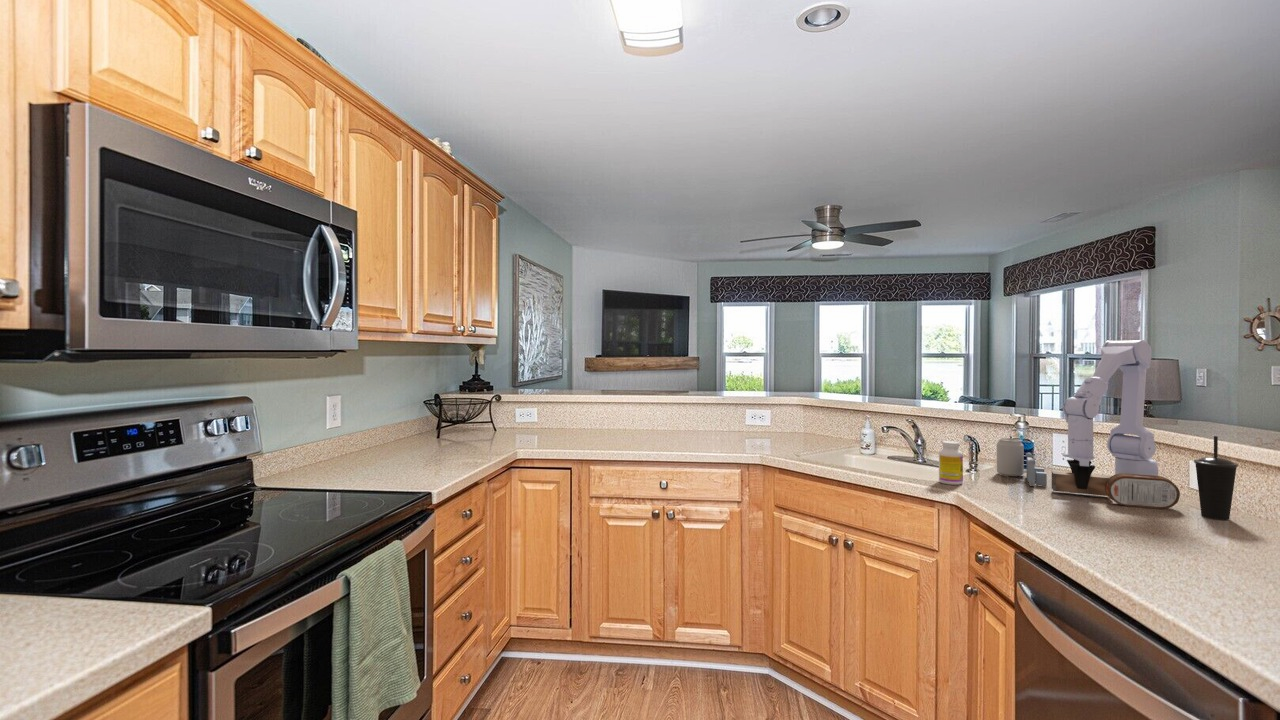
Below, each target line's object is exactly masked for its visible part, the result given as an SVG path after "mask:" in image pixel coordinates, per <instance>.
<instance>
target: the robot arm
mask: <svg viewBox="0 0 1280 720" xmlns="http://www.w3.org/2000/svg"><path fill="white" fill-rule="evenodd" d="M1152 351H1153V350H1152V347H1151V346H1150V344H1149V343H1148V342H1147V341H1146V340H1145V339H1139V340H1106V341H1105V342H1104V343H1103V345H1102V347H1101V348H1100V356H1101V359H1100V361H1099V363H1098V365H1097V366H1096V368H1095V371H1094V372H1093V374H1092V376H1090V377H1086V378H1085V379H1083V382H1082V383H1081V384H1080V386H1079V388H1078V389H1077V390H1076V392H1075V393H1074V395H1073V396H1071V397H1068V398H1067V399H1065V400H1064V403H1063V406H1062V411H1063V414H1064V417H1065V418H1064V419H1065V422H1066V423H1067V452H1064V453H1062V456H1063V457H1065V458H1069V459H1066V462H1067V463H1068V466H1069V467H1070V468H1069V469H1070V472H1071V473H1074V476H1075V482H1076V486H1077V488H1078V489H1087V487H1088V483H1089V479H1090V476H1091V474H1093V471H1094V470H1095V468H1096V466H1095V465H1094V464H1093V462H1092V460H1094V459H1095V455H1094V418H1096V416H1098V415H1099V411H1100V405H1101V402H1100V401H1102V400H1101V399H1102V398H1103V397H1104V395H1105V394H1106V392H1107V390H1108V388H1109V386H1108V383H1107V382H1108V381H1109V379H1111V377H1112V376H1113V375H1114V374H1115V372H1116V371H1118V369H1119V370H1121V372H1122V373H1123V374H1122V389H1121V402H1120V403H1121V405H1120V406H1121V407H1120V418H1119V421H1120V422H1119V424H1118V425H1116V426H1115V427H1113V428H1111V429H1110V433H1109V437H1108V438H1107V441H1106V445H1107V446H1106V448H1107V450H1108V452H1109V453H1111V454H1112V457H1113V458H1114V461H1115V462H1114V475H1115V474H1120V473H1126V474H1139V475H1152V476H1159V466H1158V463H1157V462H1158V461H1156V460H1155V459H1152V458H1153V457H1154V455H1155V454H1156V447H1157V446H1156V442H1155V435H1154V433H1153V432H1152V431H1150V430H1149V429H1147V428H1146V427H1144V414H1145V398H1146V384H1147V383H1146V380H1147V370H1149V369H1151V363H1152ZM1133 435H1134V436H1133ZM1092 464H1093V465H1092Z"/></svg>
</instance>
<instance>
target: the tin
mask: <svg viewBox="0 0 1280 720" xmlns="http://www.w3.org/2000/svg"><path fill="white" fill-rule="evenodd" d="M1109 477H1110V478H1109V479H1108V480H1107V481H1106V483H1105V492H1106V494H1107V496H1106V497H1108V498H1109V499H1110V500H1111V501H1113V502H1114V503H1115V504H1117V505H1119V506H1125V507H1136V508H1145V509H1154V510H1155V509H1156V510H1157V509H1158V510H1166V509H1171V508H1173V507H1174V506H1176V504H1178V503H1179V500H1180V496H1181V493H1180V490H1179V487H1178V486H1177V485H1176V484H1175V483H1174V482H1173V481H1171V479H1169V478H1167V477H1164V476H1161V475H1158V476H1152V475H1139V474H1126V473H1120V474H1115V473H1114V474H1113V475H1112V476H1109Z"/></svg>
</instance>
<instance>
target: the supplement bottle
mask: <svg viewBox="0 0 1280 720" xmlns="http://www.w3.org/2000/svg"><path fill="white" fill-rule="evenodd" d="M941 445H942V449H940V450H939V451H938V481H939V482H940V483H942V484H945V485H951V486H957V485H958V486H959V485H962V484H963V482H964V462H963V461H964V460H963V459H964V456H963V452H962V451H961V450H960V449H959V447H960V442H959V441H952V440H942V442H941Z"/></svg>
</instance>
